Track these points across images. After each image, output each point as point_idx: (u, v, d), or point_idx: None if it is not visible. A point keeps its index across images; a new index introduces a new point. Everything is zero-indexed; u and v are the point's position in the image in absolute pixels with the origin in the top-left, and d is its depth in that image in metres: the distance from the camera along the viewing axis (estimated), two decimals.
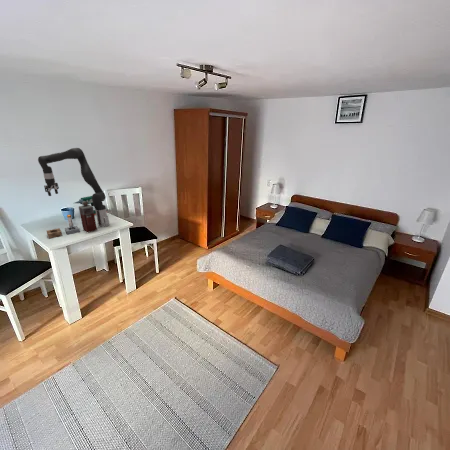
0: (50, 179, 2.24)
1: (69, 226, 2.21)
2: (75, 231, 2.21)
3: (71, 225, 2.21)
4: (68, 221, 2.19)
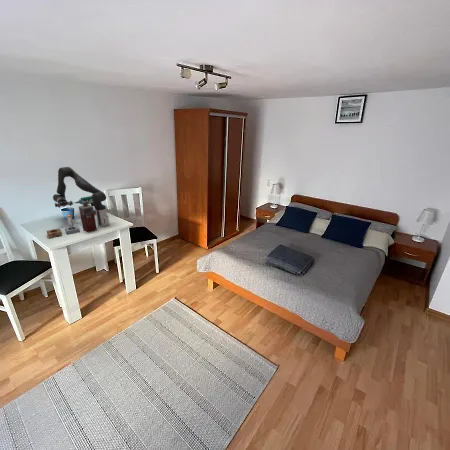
0: (58, 199, 2.32)
1: (69, 226, 2.21)
2: (75, 231, 2.21)
3: (71, 225, 2.21)
4: (68, 221, 2.19)
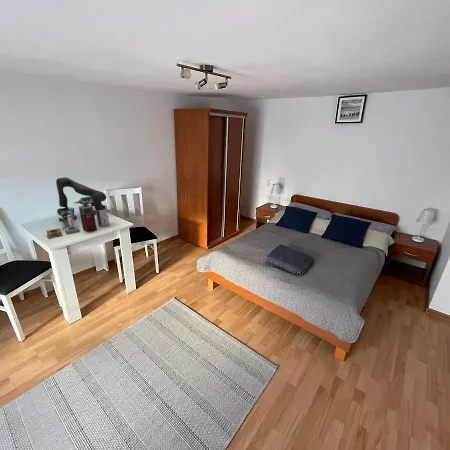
0: (62, 213, 2.34)
1: (69, 226, 2.21)
2: (75, 231, 2.21)
3: (71, 225, 2.21)
4: (68, 221, 2.19)
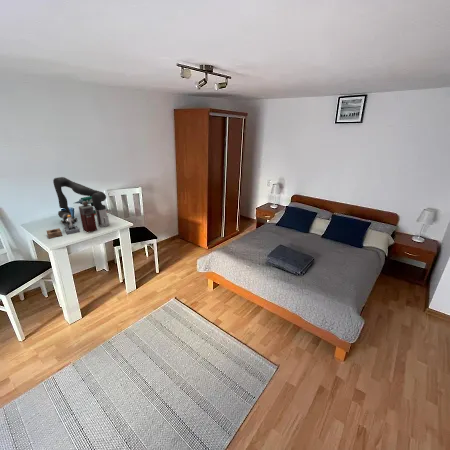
0: (64, 216, 2.28)
1: (69, 226, 2.21)
2: (75, 231, 2.21)
3: (71, 225, 2.21)
4: (68, 221, 2.19)
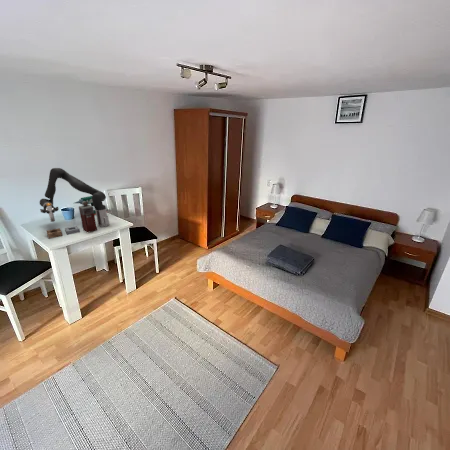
0: (44, 204, 2.16)
1: (49, 215, 2.09)
2: (75, 231, 2.21)
3: (51, 214, 2.08)
4: (48, 210, 2.07)
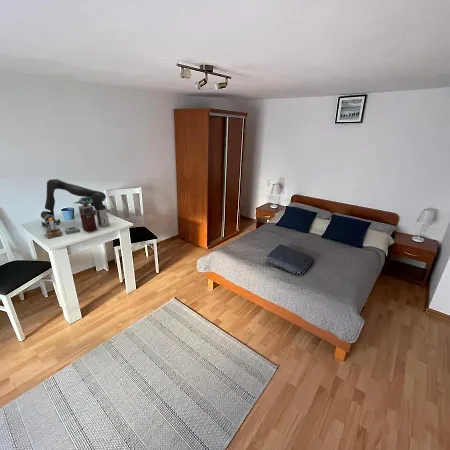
0: (46, 217, 2.19)
1: (51, 230, 2.12)
2: (75, 231, 2.21)
3: (53, 229, 2.12)
4: (50, 224, 2.10)
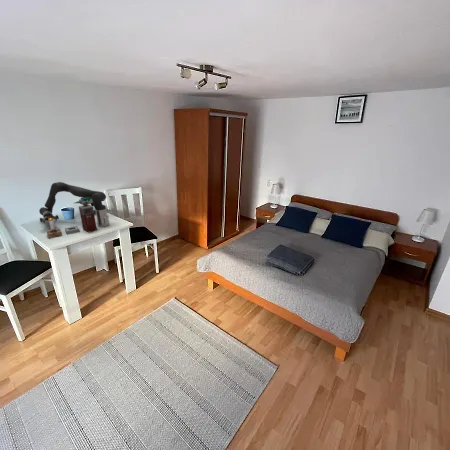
0: (44, 213, 2.28)
1: (51, 230, 2.12)
2: (75, 231, 2.21)
3: (53, 229, 2.12)
4: (50, 224, 2.10)
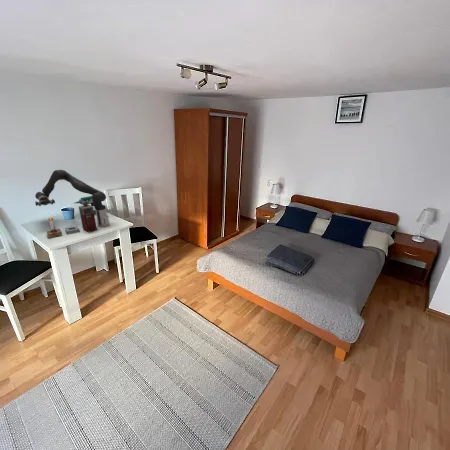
0: (40, 197, 2.22)
1: (51, 230, 2.12)
2: (75, 231, 2.21)
3: (53, 229, 2.12)
4: (50, 224, 2.10)
